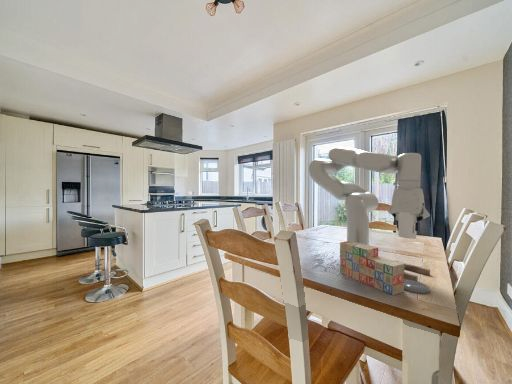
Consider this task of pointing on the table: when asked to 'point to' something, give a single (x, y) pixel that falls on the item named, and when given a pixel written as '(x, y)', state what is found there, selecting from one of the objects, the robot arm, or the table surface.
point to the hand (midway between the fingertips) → (406, 230)
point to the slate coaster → (415, 287)
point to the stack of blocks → (371, 267)
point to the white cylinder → (406, 225)
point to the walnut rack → (415, 269)
